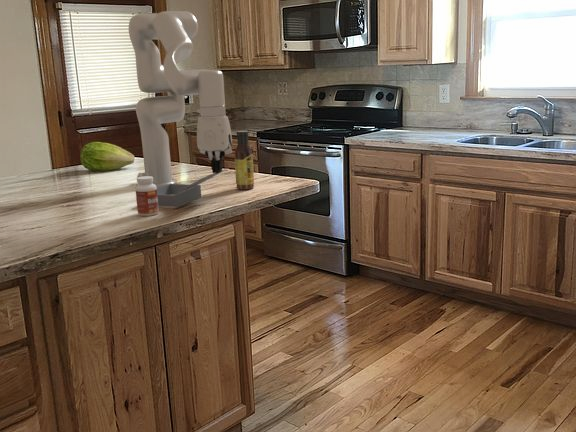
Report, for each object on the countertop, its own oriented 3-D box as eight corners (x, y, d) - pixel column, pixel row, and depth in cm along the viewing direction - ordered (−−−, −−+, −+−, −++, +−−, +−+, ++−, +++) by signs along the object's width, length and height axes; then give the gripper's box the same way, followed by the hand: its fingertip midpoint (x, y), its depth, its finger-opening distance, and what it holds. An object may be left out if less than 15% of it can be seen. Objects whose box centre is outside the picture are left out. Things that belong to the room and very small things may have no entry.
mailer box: (142, 206, 194) (141, 193, 193) (170, 195, 209) (169, 183, 208) (175, 208, 190) (174, 195, 189) (201, 196, 204) (200, 184, 203)
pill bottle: (151, 217, 180) (147, 179, 178) (133, 216, 183) (129, 179, 180) (163, 212, 186) (159, 175, 183) (145, 210, 188) (142, 175, 185)
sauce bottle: (251, 190, 211) (248, 132, 206) (234, 190, 212) (230, 132, 207) (256, 186, 217) (253, 129, 212) (239, 186, 218) (236, 130, 213)
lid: (202, 177, 184) (203, 178, 184) (227, 167, 198) (227, 169, 198) (174, 192, 189) (174, 193, 189) (199, 182, 203) (200, 183, 203)
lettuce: (134, 158, 254) (135, 136, 264) (78, 155, 250) (81, 133, 259) (134, 180, 264) (135, 159, 273) (80, 178, 259) (83, 157, 268)
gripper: (185, 113, 185) (189, 173, 190) (229, 113, 180) (233, 175, 184) (197, 111, 192) (201, 169, 197) (240, 111, 186) (244, 170, 191)
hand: (217, 172), depth 190 cm, fingers closed
